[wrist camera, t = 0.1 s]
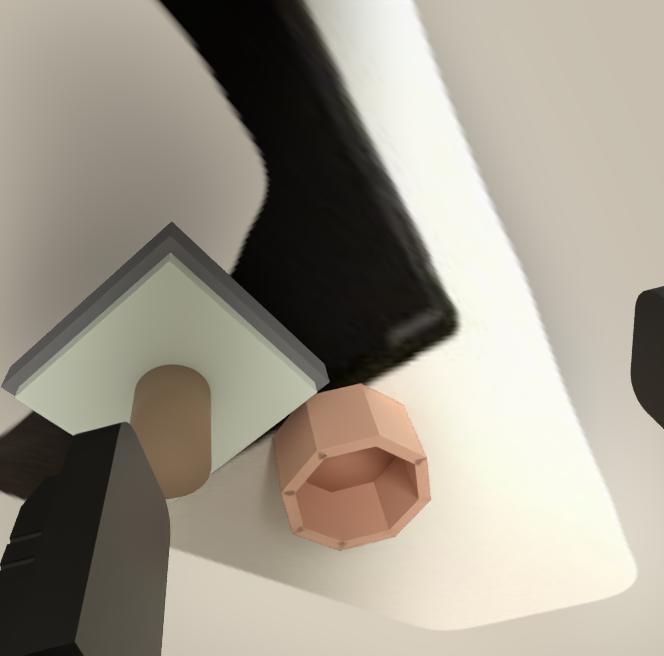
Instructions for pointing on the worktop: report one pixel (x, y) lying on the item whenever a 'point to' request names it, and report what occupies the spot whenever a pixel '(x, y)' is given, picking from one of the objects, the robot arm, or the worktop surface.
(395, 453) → the pink hollow octagonal piece
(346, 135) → the worktop surface
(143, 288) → the lid
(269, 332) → the mat
